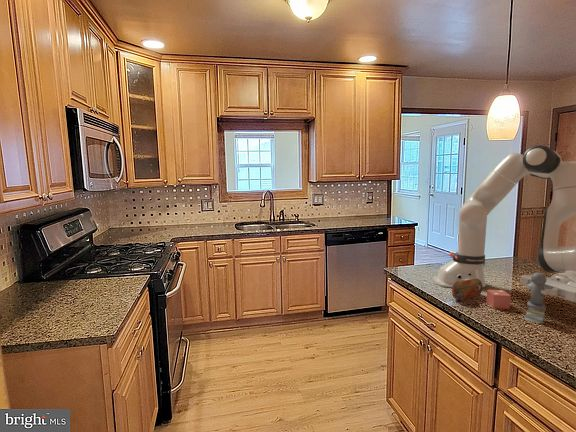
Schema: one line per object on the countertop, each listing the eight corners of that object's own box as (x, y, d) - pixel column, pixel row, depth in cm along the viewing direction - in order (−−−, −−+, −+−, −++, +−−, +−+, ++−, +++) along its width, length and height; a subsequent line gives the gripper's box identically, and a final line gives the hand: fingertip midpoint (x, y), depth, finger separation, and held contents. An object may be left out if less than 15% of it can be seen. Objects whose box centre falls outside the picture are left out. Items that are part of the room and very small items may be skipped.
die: (492, 310, 133) (494, 294, 132) (486, 304, 139) (487, 289, 138) (509, 310, 132) (511, 295, 132) (502, 304, 138) (503, 290, 137)
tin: (456, 302, 141) (457, 282, 140) (449, 300, 144) (451, 280, 142) (482, 297, 147) (483, 277, 146) (475, 294, 150) (477, 275, 148)
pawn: (532, 309, 121) (535, 274, 119) (524, 303, 126) (527, 270, 124) (548, 310, 120) (551, 275, 118) (539, 304, 125) (542, 270, 123)
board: (519, 303, 139) (519, 301, 139) (556, 311, 132) (557, 309, 132) (512, 319, 125) (512, 317, 125) (554, 329, 117) (554, 327, 117)
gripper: (536, 268, 135) (509, 272, 131) (597, 285, 116) (567, 290, 112) (535, 284, 136) (508, 288, 132) (594, 303, 117) (565, 309, 113)
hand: (535, 289), depth 122 cm, fingers closed on pawn, 4 cm apart
